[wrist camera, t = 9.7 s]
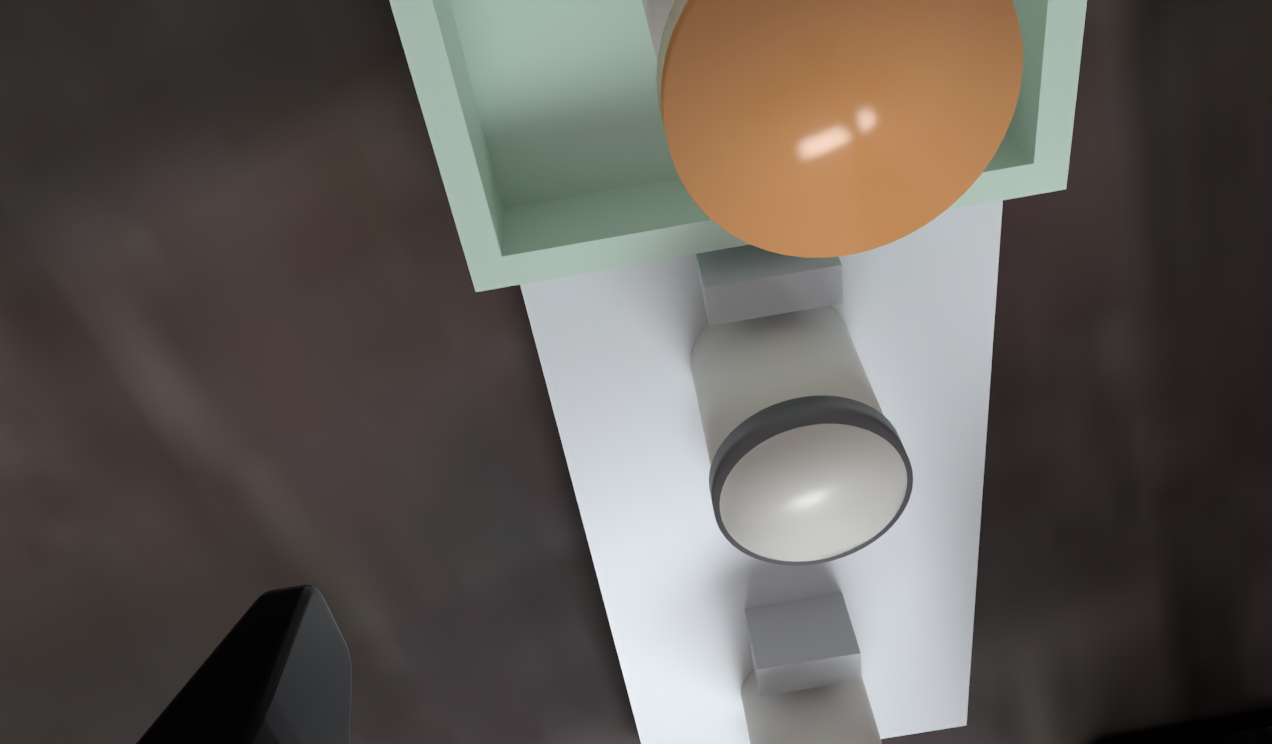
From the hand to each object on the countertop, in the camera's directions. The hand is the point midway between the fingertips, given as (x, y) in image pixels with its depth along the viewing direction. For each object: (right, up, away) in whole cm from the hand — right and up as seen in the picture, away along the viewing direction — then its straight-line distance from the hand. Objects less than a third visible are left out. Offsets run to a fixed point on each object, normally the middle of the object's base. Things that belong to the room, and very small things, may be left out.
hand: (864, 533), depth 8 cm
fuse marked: (0, +9, +8) cm, 11 cm away
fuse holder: (+2, -2, +16) cm, 17 cm away
